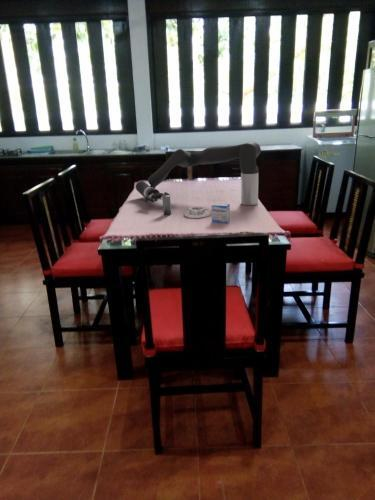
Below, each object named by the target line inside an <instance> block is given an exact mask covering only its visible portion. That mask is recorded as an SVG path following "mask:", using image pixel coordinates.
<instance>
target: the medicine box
mask: <svg viewBox="0 0 375 500" xmlns="http://www.w3.org/2000/svg"><path fill="white" fill-rule="evenodd" d="M230 206H231V205H230V203H213V204H211V223H214V224H228V223H229V222H230V221H231V218H230V217H231V214H230V213H231V210H230V209H231V208H230Z"/></svg>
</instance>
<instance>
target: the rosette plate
mask: <svg viewBox="0 0 375 500" xmlns="http://www.w3.org/2000/svg"><path fill="white" fill-rule="evenodd" d="M183 216H184V217H185V218H187V217H188V219H195V218H196V219H203V218H207V217H210V216H212V211H210V210H207V209H206V208H205V207H204V206H192V207H189V210H187V211H185V212H184V213H183Z"/></svg>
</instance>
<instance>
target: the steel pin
mask: <svg viewBox="0 0 375 500" xmlns="http://www.w3.org/2000/svg"><path fill="white" fill-rule="evenodd" d="M161 198H162V199H163V200H162V211H163V216H165V215H168V216H172V205H171V194H170V195H163V196H162V197H161Z"/></svg>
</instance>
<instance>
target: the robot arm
mask: <svg viewBox="0 0 375 500" xmlns="http://www.w3.org/2000/svg"><path fill="white" fill-rule="evenodd" d="M261 150H262V148H261V146H260V144H259V143H258V142H255V141H249V142H244V143H241V144H236V145H216V146H210V147H207V148H205V149H202V150H200V151H198V152H197V151H195V152H189V151H186V150H185V149H182V148H179V149H176V150H175V151H174V152H173V153H172V154H171V155H170V156H169V158H167V160H166V161H165V162H164V163H163V164H162V165H161V166H160V167H159V168H158V169H157V170H156V171H154V172H153V174H151V175H150V176H149V177H148V178H147V182H148V183H149V184H148V183H147V182H146V181H144V180H140V181H138V182H137V183H136V184H135V190H136V191H137V192H138V193H139V194H140V195H141V196H142V197H143V198H142V199H143V201H144V202H146V203H148V202H150V203H155V202H157V201H158V200H159V201H160V200H162V201H163V199H162V196H163V195H170V196H171V194H170V193H168V192H166V191H164V192H160V191H159V189H157V188H156V187H157V186H159V185H160V184H162V183H163V181H164V180H165V179H166V178H167V177H168V174H169V173H170V172H171V171H172V169H174V168H175V167H176V166H180V167H181V168H190V167H195V166H198V165H212V164H220V163H225V162H230V161H233V160H237V159H239V168H240V179H241V180H240V194H241V195H240V201H241V202H240V204H241V205H243V206H256V205H258V204H259V167H258V165H257V158H258V157H259V156H260V154H261Z"/></svg>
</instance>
